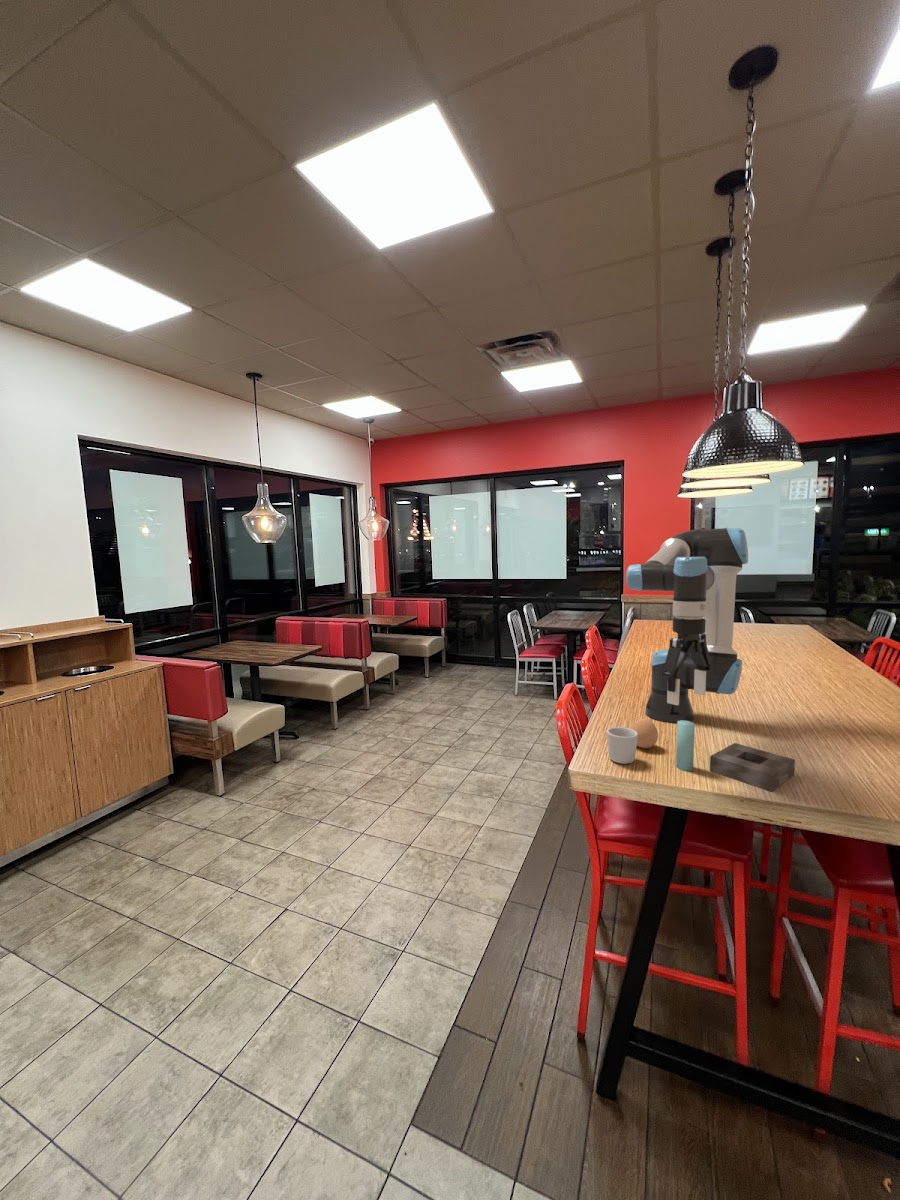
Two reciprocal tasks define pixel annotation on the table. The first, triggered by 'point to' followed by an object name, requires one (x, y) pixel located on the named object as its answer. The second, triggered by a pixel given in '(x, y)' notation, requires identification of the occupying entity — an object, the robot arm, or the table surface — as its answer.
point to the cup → (622, 744)
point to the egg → (645, 733)
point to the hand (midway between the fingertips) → (686, 699)
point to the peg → (685, 745)
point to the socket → (752, 766)
